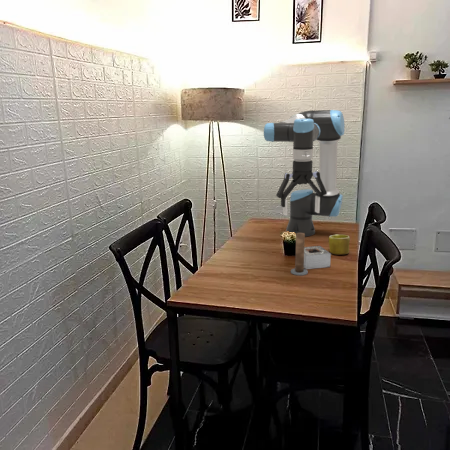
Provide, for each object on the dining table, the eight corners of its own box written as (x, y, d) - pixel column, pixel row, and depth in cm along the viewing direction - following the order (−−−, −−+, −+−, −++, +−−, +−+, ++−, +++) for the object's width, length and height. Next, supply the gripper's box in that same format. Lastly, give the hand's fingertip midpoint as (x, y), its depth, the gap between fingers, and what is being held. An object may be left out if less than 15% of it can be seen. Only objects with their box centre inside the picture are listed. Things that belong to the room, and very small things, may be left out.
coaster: (288, 270, 183) (288, 268, 182) (303, 268, 184) (303, 267, 184) (294, 276, 176) (294, 274, 176) (310, 274, 178) (310, 273, 177)
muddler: (297, 272, 178) (298, 235, 174) (293, 269, 181) (294, 232, 177) (304, 272, 179) (306, 234, 174) (301, 269, 182) (302, 232, 178)
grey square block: (296, 260, 194) (296, 247, 192) (319, 258, 196) (319, 245, 194) (305, 269, 183) (306, 255, 182) (330, 266, 186) (330, 253, 184)
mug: (354, 253, 196) (347, 232, 196) (331, 259, 199) (325, 238, 199) (353, 250, 208) (347, 230, 208) (332, 255, 210) (326, 235, 210)
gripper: (275, 162, 162) (274, 218, 168) (337, 159, 167) (334, 213, 173) (268, 160, 169) (268, 213, 175) (328, 157, 174) (326, 209, 180)
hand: (301, 213), depth 174 cm, fingers open, 13 cm apart
